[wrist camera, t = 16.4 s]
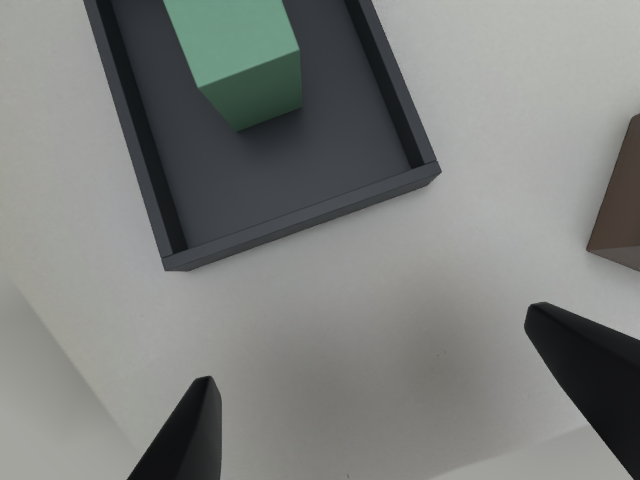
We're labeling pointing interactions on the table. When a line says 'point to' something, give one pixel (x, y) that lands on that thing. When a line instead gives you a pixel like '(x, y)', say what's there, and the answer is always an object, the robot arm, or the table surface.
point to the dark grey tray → (261, 131)
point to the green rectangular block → (240, 56)
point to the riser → (621, 207)
